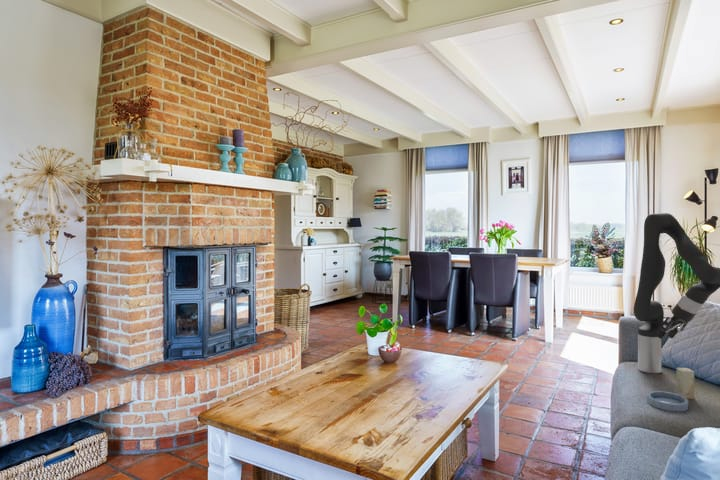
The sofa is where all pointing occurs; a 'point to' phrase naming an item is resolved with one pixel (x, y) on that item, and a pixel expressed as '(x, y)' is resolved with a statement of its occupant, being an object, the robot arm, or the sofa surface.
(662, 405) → the dish
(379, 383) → the sofa surface
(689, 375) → the box
